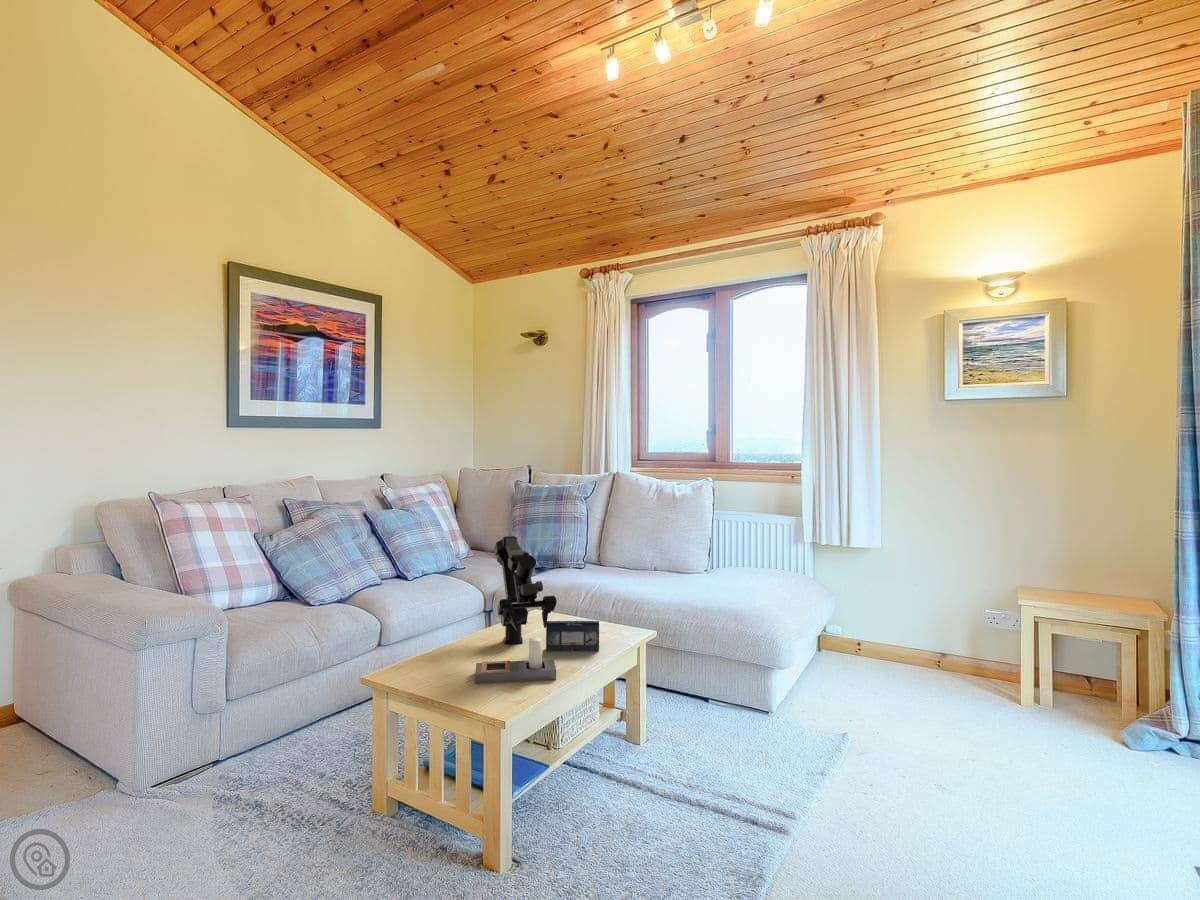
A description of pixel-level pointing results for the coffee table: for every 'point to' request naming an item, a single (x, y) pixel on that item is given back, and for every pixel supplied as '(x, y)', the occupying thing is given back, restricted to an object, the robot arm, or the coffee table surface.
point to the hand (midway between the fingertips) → (531, 628)
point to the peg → (535, 653)
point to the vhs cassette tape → (572, 636)
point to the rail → (513, 672)
